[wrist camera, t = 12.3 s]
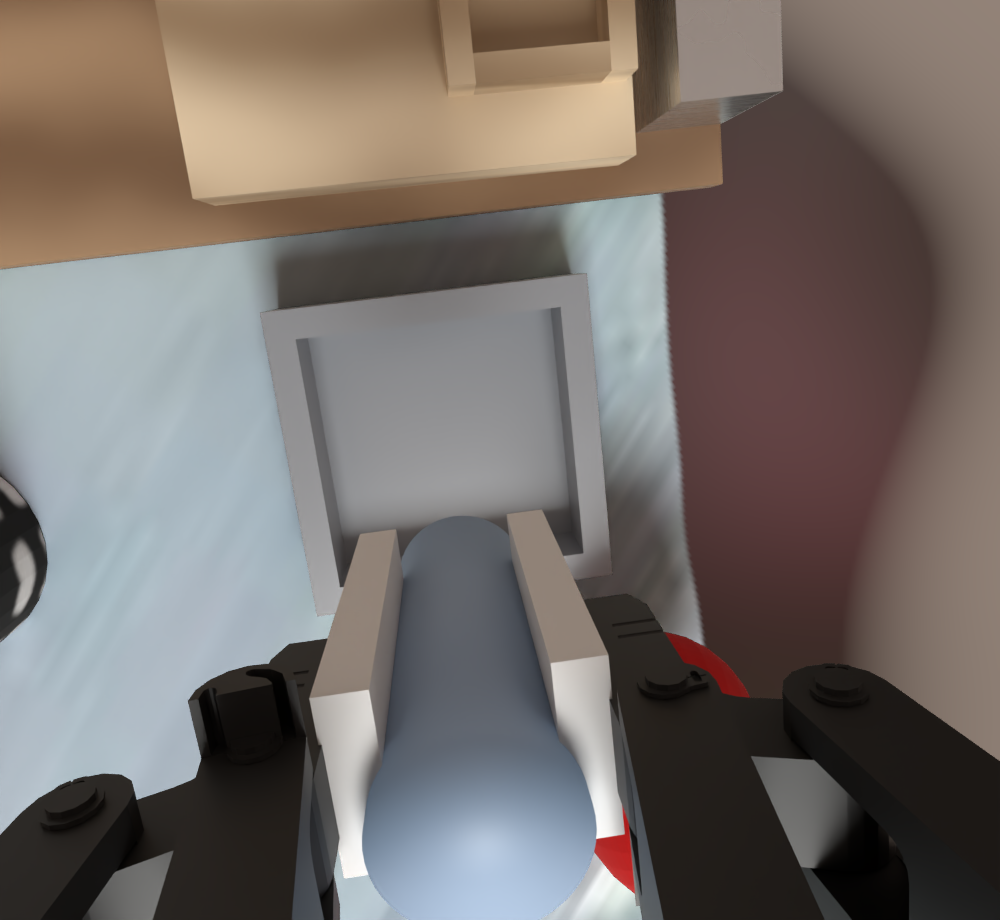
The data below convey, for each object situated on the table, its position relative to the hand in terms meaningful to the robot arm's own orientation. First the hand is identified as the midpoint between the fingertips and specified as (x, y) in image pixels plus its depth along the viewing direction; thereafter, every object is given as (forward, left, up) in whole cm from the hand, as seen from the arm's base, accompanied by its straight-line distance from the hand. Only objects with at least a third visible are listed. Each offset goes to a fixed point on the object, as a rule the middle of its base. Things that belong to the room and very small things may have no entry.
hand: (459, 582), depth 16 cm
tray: (0, 0, -14) cm, 14 cm away
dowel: (+1, 0, -2) cm, 2 cm away
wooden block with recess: (-14, 0, -13) cm, 19 cm away
